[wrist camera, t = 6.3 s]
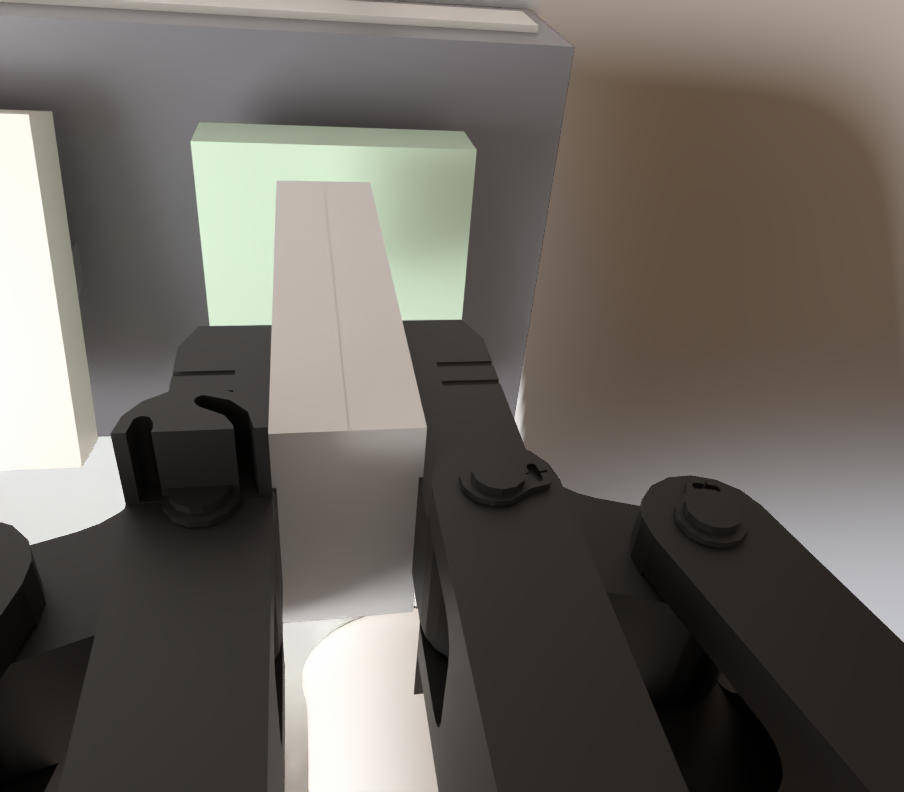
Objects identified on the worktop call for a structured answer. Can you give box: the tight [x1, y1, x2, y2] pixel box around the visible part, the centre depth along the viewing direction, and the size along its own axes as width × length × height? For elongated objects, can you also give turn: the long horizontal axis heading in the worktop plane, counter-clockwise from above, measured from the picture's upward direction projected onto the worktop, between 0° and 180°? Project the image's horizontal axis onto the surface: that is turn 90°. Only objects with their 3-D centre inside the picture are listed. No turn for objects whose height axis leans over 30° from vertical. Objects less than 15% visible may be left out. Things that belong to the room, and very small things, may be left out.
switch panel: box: [0, 0, 574, 436], centre depth 19 cm, size 18×10×5 cm, turn 85°
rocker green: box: [191, 122, 477, 326], centre depth 17 cm, size 5×7×1 cm
